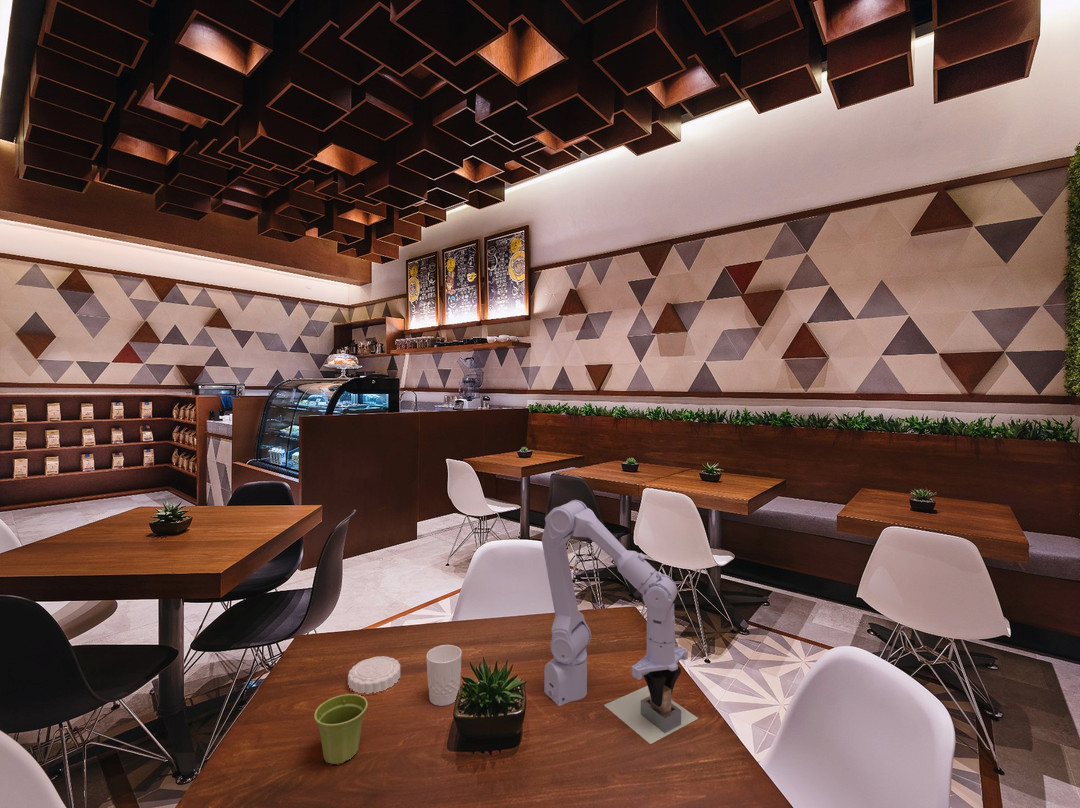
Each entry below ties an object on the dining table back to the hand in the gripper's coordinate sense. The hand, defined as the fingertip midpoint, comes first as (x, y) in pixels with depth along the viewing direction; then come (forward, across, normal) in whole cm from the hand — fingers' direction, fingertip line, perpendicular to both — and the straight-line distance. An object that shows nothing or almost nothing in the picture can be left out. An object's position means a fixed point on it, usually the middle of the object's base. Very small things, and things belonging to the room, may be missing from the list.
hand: (660, 701), depth 99 cm
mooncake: (+5, -47, +48) cm, 67 cm away
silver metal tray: (+5, 0, 0) cm, 5 cm away
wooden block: (+4, 0, 0) cm, 4 cm away
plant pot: (+5, -58, +27) cm, 64 cm away
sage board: (+5, 0, +3) cm, 6 cm away
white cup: (+5, -35, +33) cm, 48 cm away
